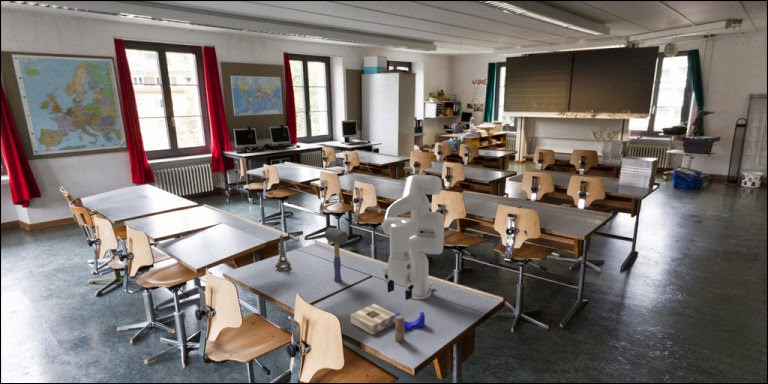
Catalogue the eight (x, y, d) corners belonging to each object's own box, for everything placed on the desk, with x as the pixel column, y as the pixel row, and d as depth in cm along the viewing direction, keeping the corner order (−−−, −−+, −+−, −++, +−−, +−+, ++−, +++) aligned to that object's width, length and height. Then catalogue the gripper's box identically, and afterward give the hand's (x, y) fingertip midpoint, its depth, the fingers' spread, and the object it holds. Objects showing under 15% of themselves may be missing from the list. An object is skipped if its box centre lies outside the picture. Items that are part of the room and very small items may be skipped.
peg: (399, 336, 172) (399, 314, 170) (406, 340, 170) (406, 317, 168) (393, 340, 170) (393, 317, 168) (400, 343, 167) (400, 321, 165)
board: (373, 311, 193) (373, 303, 192) (395, 322, 184) (395, 314, 183) (350, 322, 184) (350, 314, 183) (372, 334, 174) (372, 326, 173)
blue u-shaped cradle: (397, 331, 177) (397, 318, 176) (396, 325, 181) (396, 313, 180) (425, 330, 177) (425, 317, 176) (423, 324, 182) (423, 312, 181)
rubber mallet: (350, 283, 224) (349, 229, 218) (339, 287, 219) (338, 233, 213) (335, 277, 233) (334, 225, 227) (325, 281, 228) (323, 228, 221)
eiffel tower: (273, 267, 248) (271, 227, 243) (292, 265, 251) (289, 225, 246) (274, 274, 238) (272, 232, 233) (293, 271, 241) (291, 230, 236)
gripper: (422, 257, 159) (422, 298, 162) (390, 246, 171) (390, 285, 174) (409, 262, 153) (409, 305, 157) (377, 251, 166) (377, 291, 169)
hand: (399, 294), depth 165 cm, fingers open, 9 cm apart
